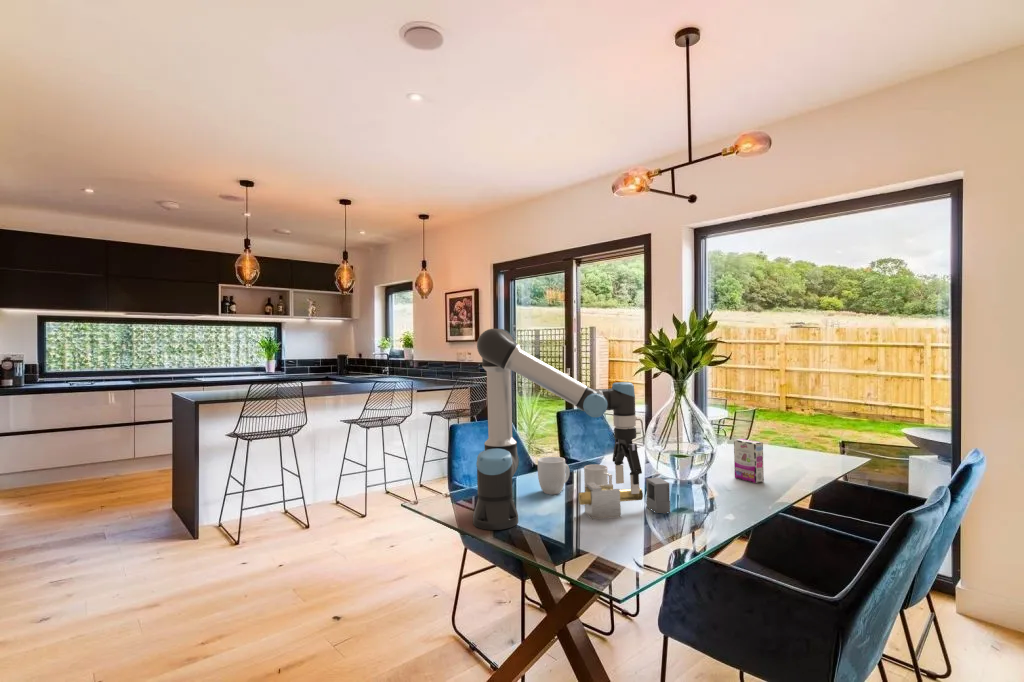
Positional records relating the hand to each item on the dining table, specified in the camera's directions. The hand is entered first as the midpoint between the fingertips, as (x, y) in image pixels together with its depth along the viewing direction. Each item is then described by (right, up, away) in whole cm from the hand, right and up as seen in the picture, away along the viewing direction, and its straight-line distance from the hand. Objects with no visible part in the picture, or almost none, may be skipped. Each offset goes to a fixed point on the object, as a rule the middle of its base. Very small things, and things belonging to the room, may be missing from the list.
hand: (627, 488), depth 186 cm
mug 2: (-7, -9, +19) cm, 22 cm away
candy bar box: (+59, -7, +38) cm, 71 cm away
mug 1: (-23, -9, +27) cm, 37 cm away
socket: (+11, -8, +2) cm, 14 cm away
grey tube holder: (-9, -9, -1) cm, 12 cm away
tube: (-6, -5, -1) cm, 8 cm away
